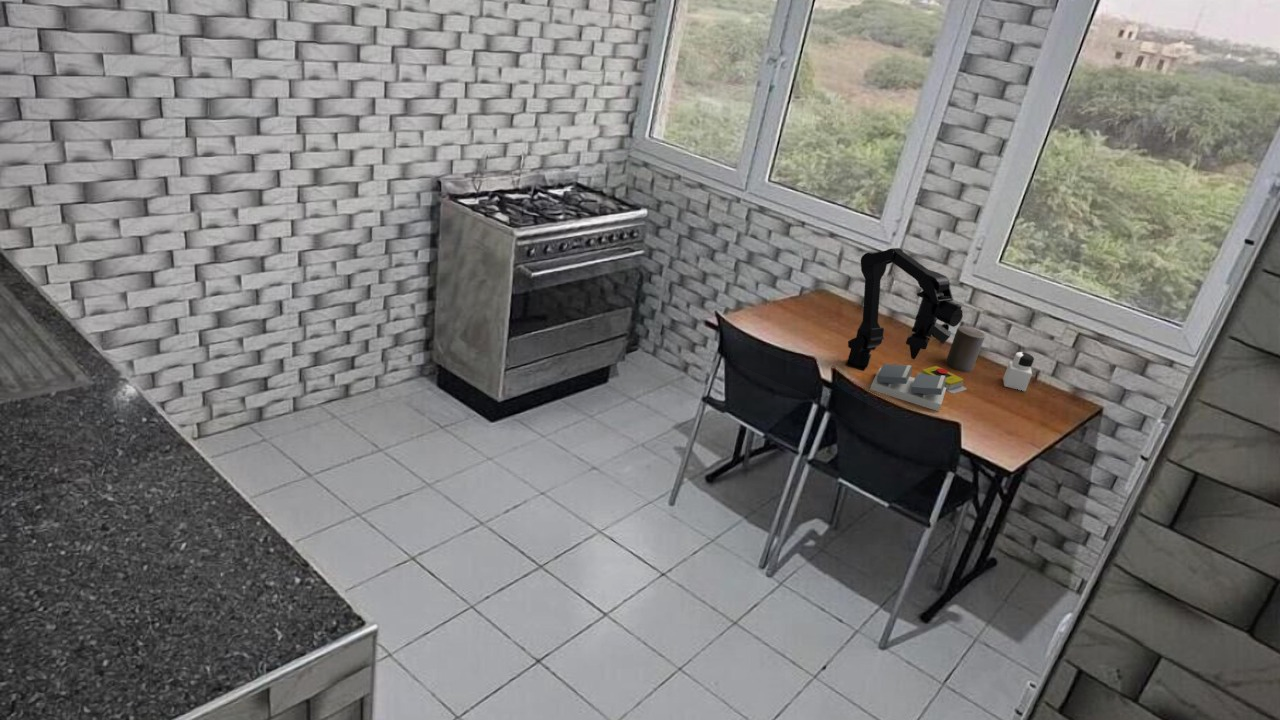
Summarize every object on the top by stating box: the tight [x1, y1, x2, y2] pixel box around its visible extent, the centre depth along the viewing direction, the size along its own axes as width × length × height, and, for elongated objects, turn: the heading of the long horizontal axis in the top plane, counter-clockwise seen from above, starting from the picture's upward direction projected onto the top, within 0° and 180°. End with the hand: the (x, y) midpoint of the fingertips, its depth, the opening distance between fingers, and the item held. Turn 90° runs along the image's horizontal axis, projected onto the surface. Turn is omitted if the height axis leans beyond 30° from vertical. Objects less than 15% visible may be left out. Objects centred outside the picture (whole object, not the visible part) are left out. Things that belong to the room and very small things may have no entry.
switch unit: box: [869, 367, 947, 412], centre depth 274 cm, size 22×15×4 cm
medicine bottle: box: [1002, 351, 1035, 392], centre depth 292 cm, size 7×7×12 cm
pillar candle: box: [945, 325, 986, 373], centre depth 300 cm, size 10×10×15 cm
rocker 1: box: [877, 363, 913, 384], centre depth 273 cm, size 9×12×2 cm
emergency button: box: [918, 365, 968, 395], centre depth 286 cm, size 9×4×15 cm
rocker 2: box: [911, 373, 946, 395], centre depth 270 cm, size 9×12×2 cm
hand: (913, 358), depth 269 cm, fingers closed
